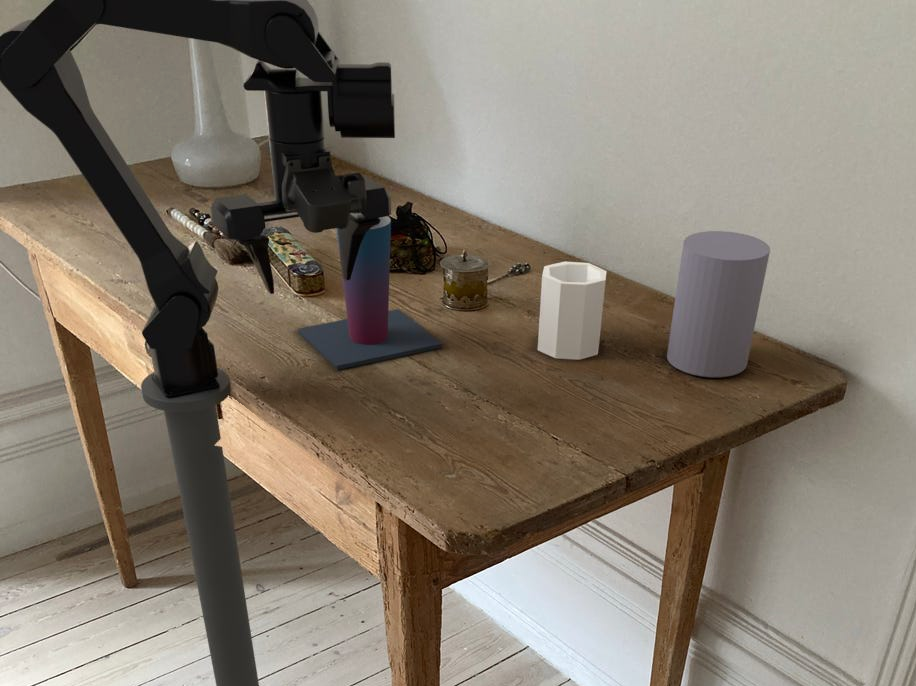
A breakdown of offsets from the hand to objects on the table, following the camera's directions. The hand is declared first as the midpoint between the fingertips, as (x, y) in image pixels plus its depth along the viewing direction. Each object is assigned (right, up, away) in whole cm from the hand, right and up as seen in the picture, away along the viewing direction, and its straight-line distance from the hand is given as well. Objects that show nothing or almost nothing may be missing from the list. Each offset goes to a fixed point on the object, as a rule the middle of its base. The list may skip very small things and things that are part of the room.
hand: (309, 285), depth 116 cm
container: (+49, -4, +17) cm, 52 cm away
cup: (+5, 0, +20) cm, 20 cm away
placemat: (+5, 0, +20) cm, 21 cm away
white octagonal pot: (+31, 0, +22) cm, 37 cm away
